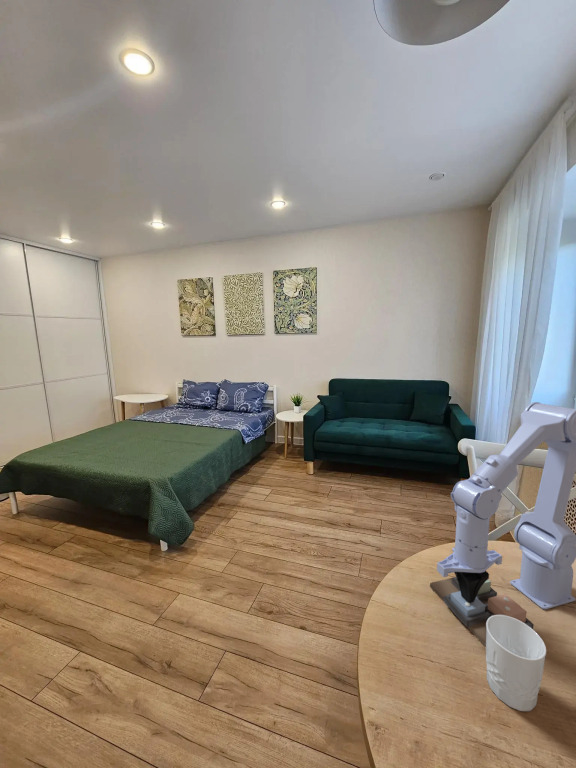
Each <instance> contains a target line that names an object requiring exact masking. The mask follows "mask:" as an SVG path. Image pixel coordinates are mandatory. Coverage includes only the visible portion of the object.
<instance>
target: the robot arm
mask: <svg viewBox="0 0 576 768" xmlns="http://www.w3.org/2000/svg"><path fill="white" fill-rule="evenodd" d="M544 442H545V444H546V445H547V447H548V448H547V452H546V456H545V462H544V463H543V464H544V465H543V468H542V475H541V478H540V483H539V487H538V490H537V496H536V500H535V505H534V509H533V511H529V512H524V513H522V514H520V519H519V521H518V523H517V524H516V526H515V527H514V530H513V537H514V540H515V541H516V542H517V544H519V547H518V548H519V550H521V551H522V552H521V561H520V563H521V564H520V573H519V574H520V576H519V578H517V579H516V578H515V579H513V580H510V581H509V583H510V585H511V586H513V587H514V588H515V589H517V590H518V591H519V592H520V593H522V594H524V595H523V596H526V597H527V598H528V599H529V600H531V601H532V602H533V603H534V604H536V605H537V606H538V607H540V609H543V610H547V609H551V608H554V607H558V606H559V607H560V606H562V605H566V604H568V603H572V602H575V601H576V597H574V596H573V595H572V592H573V591H572V589H573V581H574V569H573V566H572V565H573V564H574V562H575V561H576V533H574V531H573V530H572V529H571V528H570V526H569V525H568V524H567V523H566V521H565V517H566V513H567V509H568V508H567V507H568V504H569V500H570V495H571V491H572V487H573V484H574V483H573V482H574V478H575V474H576V408H570V407H564V406H557V405H551V404H546V403H541V402H539V401H534V402H530V403H529V404H528V405H527V406H526V407H525V409H524V411H523V412H522V413H521V414H520V426H519V427H518V428H517V430H516V431H515V433H514V434H513V436H512V437H511V438H510V439H509V441H508V442H507V444H506V445H505V447H503V449H502V450H501V452H500V453H499V454H491V455H489V456H488V457H487V458H486V459H485V460H484V462H482V463H481V464H480V466H479V467H478V468H477V469H476V470H475V471H474V472H473V473H472V475H471V476H470V477H469V478H468V479H464V480H460V481H457V482H456V483H455V485H453V486H454V487H453V489H452V492H450V498H451V501H452V502H453V503H454V511H455V512H456V523H455V524H456V525H455V540H454V541H455V542H454V543H455V544H454V547H452V548H451V549H452V550H451V551H452V553H451V554H450V555H448V556H447V557H445V558H444V559H443V560H441V561H438V562H436V564H437V565H436V571H437V573H439V575H441V577H443V578H447V577H448V576H449V574H452V573H454V575H455V577H457V580H458V583H459V587H460V591H461V596H462V597H463V598H464V599H465V600H466V601H467V602H468V603H472V602H474V600H475V598H476V596H477V594H478V592H479V590H480V588H481V586H482V585H483V584H484V583H485V581H487V580H488V579H489V580H490V574H489V572H488V571H487V570H489V569H490V568H491V567H492V566H493V565H494V564H495V565H497V566H499V565H502V562H503V561H502V560H503V556H502V555H501V553H499V552H498V551H496V550H495V549H492V550H488V548H489V547H488V545H489V533H490V532H489V531H490V530H489V529H490V518H491V517H493V516H494V514H496V513H497V511H498V508H499V507H500V506H499V505H500V502H501V501H502V498H503V496H502V493H504V492H505V490H506V489H507V488H508V487H509V486H510V484H511V483H512V482H513V481H514V480H515V479H516V478H517V477H518V475H519V471H518V465H519V464H521V463H522V461H523V460H525V458H527V457H528V456H529V455H530V454H531V453H532V452H533V451H534V450H535V449H537V447H539V446H540V445H541V444H542V443H544Z"/></svg>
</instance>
